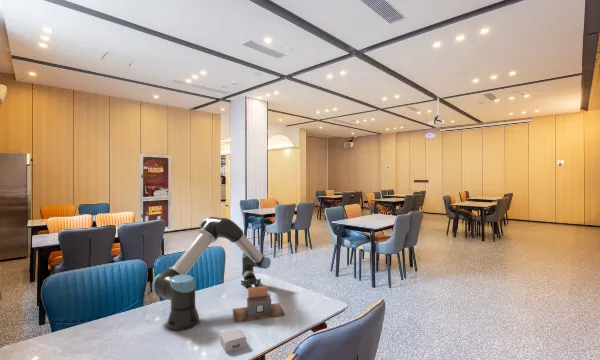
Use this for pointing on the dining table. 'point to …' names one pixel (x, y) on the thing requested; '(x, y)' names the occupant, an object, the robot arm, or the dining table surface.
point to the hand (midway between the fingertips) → (254, 290)
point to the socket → (258, 301)
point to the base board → (242, 316)
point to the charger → (232, 339)
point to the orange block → (257, 294)
